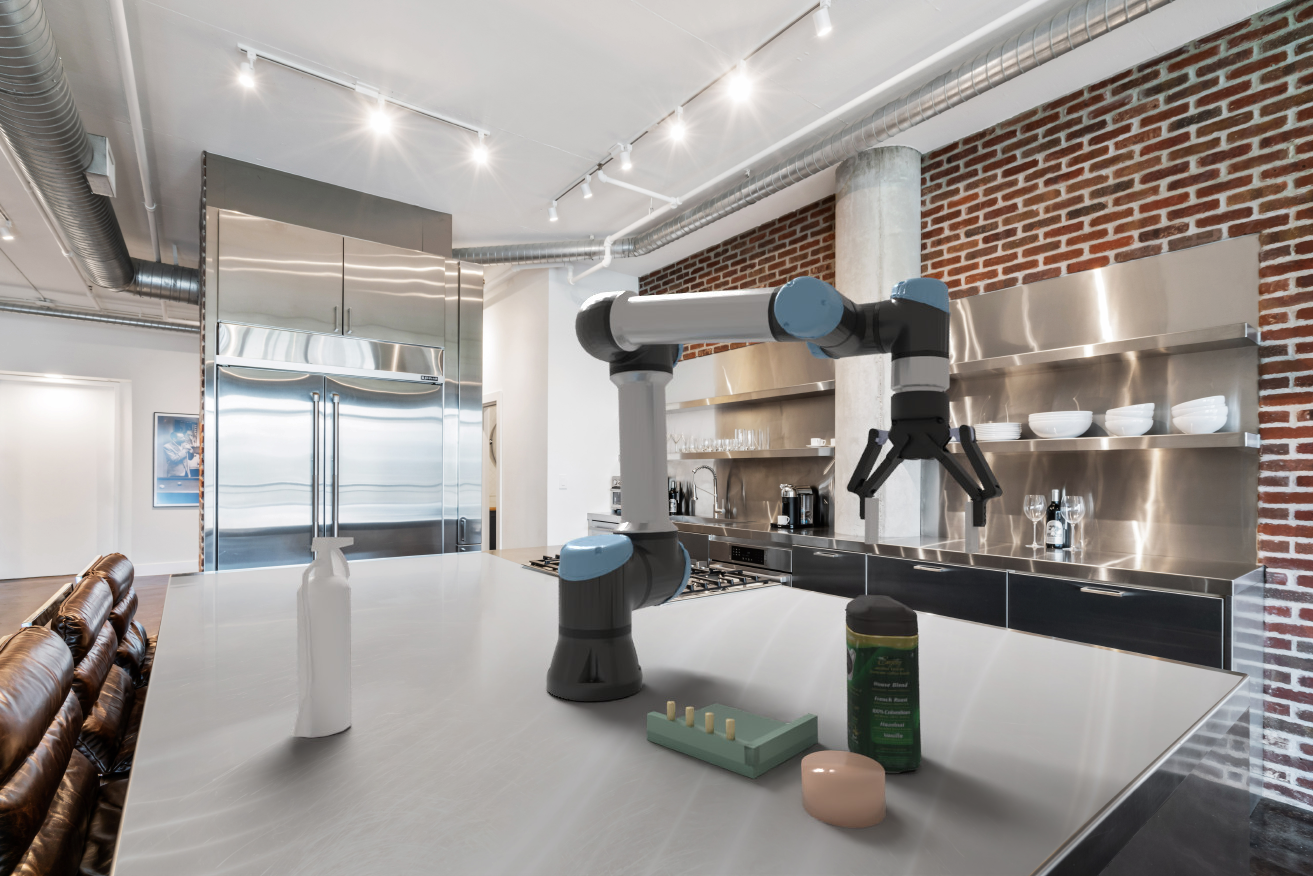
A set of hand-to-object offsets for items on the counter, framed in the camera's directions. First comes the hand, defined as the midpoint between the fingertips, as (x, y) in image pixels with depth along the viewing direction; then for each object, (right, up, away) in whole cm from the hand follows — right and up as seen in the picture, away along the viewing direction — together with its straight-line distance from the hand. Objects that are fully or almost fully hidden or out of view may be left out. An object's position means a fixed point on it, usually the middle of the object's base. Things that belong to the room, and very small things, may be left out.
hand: (919, 548), depth 88 cm
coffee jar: (-9, -23, -12) cm, 27 cm away
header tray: (-26, -23, -7) cm, 35 cm away
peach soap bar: (-17, -22, -24) cm, 36 cm away
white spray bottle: (-79, -23, -4) cm, 83 cm away
